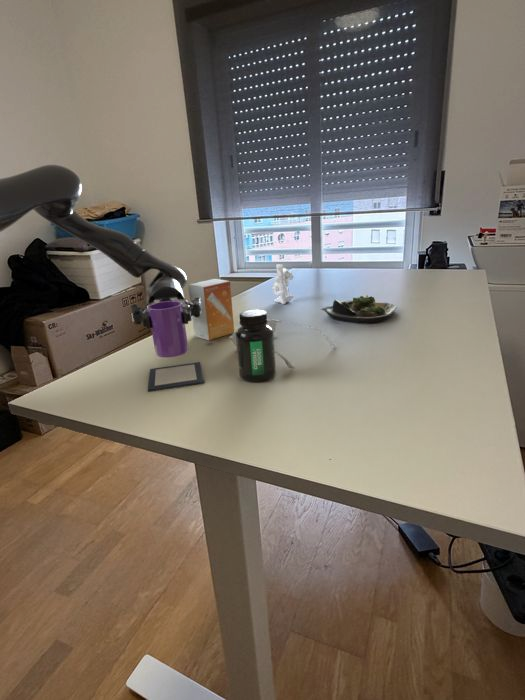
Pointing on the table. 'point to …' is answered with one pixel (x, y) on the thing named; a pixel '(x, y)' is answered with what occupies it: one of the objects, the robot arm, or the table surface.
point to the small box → (213, 308)
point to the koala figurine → (282, 284)
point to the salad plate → (360, 310)
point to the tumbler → (168, 328)
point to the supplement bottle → (255, 347)
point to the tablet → (175, 376)
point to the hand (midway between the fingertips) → (167, 320)
